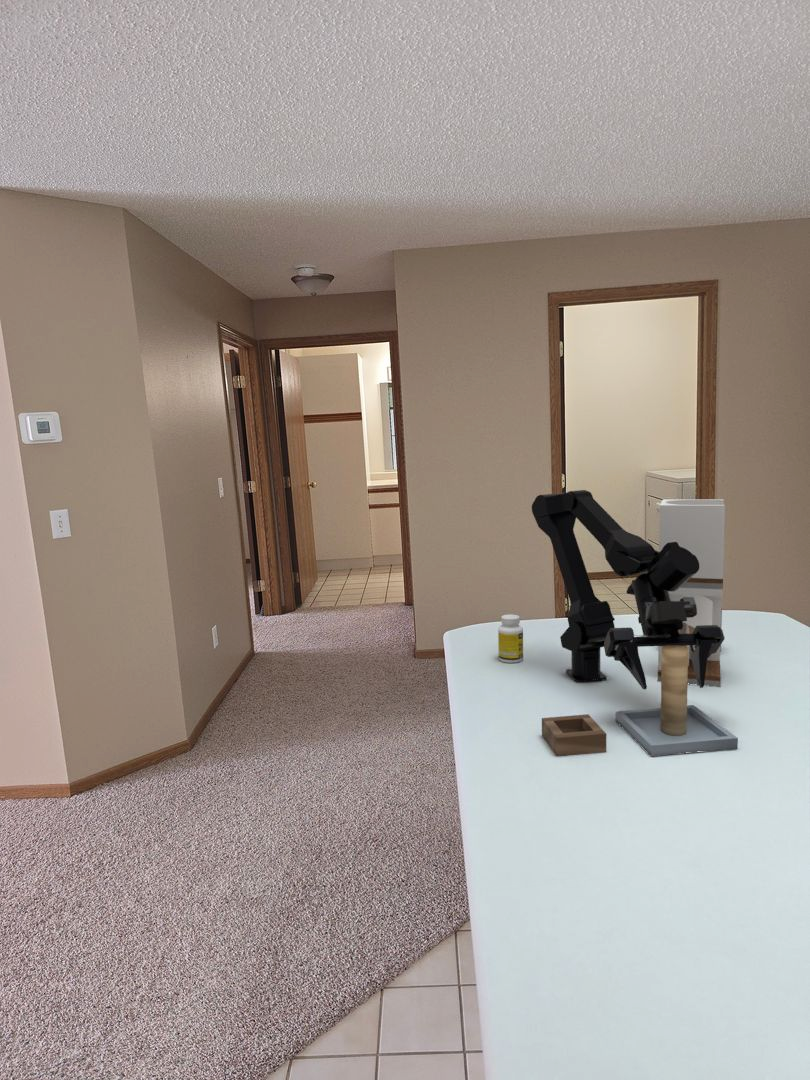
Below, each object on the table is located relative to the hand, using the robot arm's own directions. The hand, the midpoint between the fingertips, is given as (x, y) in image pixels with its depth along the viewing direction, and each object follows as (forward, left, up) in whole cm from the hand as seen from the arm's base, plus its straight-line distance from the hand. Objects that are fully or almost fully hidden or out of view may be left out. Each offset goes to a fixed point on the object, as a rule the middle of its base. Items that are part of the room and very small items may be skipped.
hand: (673, 687), depth 120 cm
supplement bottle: (-44, -16, -8) cm, 47 cm away
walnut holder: (0, -17, -8) cm, 19 cm away
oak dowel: (0, 0, -7) cm, 7 cm away
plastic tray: (0, 0, -8) cm, 8 cm away
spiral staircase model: (-26, +16, -8) cm, 32 cm away
